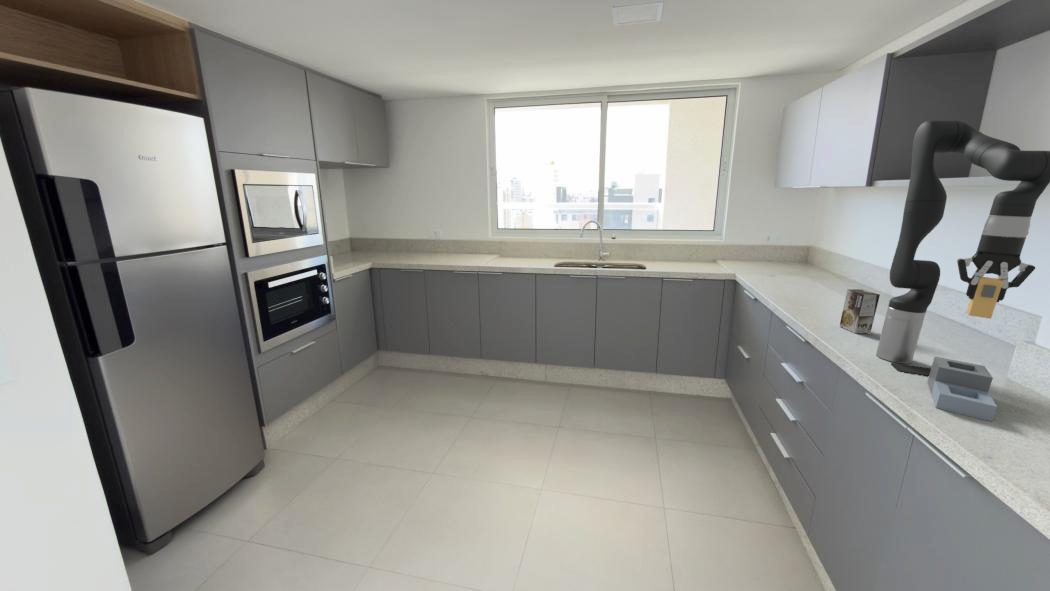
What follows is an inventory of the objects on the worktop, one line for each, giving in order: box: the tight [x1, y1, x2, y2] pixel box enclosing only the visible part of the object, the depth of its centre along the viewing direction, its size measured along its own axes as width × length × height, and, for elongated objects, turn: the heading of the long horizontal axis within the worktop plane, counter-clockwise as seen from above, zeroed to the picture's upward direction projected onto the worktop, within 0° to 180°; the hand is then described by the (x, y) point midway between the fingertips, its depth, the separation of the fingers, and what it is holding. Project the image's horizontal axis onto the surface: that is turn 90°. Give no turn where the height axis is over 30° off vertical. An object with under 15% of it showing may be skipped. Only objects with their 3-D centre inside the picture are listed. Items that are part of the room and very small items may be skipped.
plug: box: [966, 276, 1003, 319], centre depth 109 cm, size 5×4×10 cm
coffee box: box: [839, 288, 881, 334], centre depth 166 cm, size 9×6×16 cm
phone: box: [890, 362, 931, 377], centre depth 129 cm, size 7×1×15 cm
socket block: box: [927, 356, 998, 422], centre depth 111 cm, size 20×10×8 cm, turn 141°
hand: (983, 299), depth 109 cm, fingers closed on plug, 4 cm apart
